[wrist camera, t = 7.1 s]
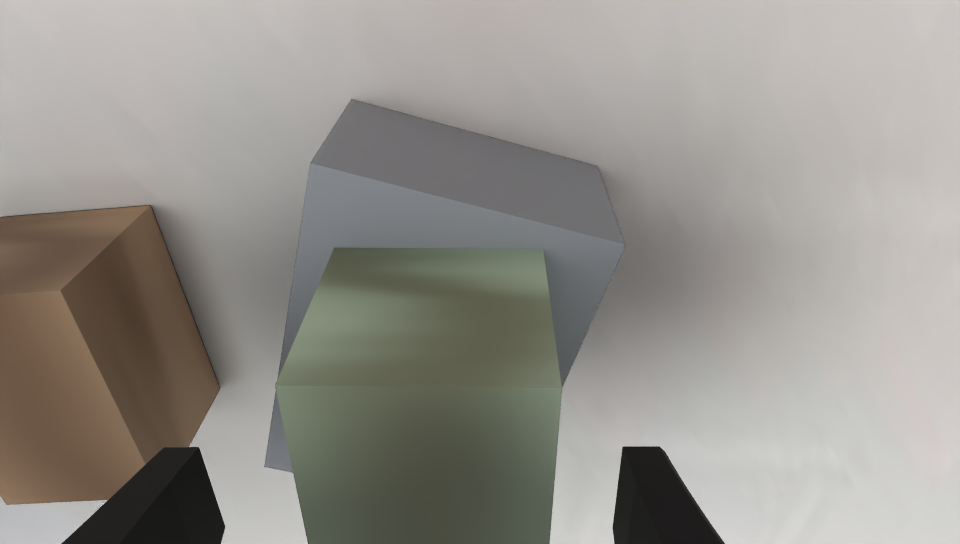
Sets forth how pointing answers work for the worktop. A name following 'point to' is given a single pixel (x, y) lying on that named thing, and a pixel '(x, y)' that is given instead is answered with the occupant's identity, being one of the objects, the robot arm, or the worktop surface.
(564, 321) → the slate brick
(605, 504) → the worktop surface
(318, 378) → the sage brick
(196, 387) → the walnut brick
